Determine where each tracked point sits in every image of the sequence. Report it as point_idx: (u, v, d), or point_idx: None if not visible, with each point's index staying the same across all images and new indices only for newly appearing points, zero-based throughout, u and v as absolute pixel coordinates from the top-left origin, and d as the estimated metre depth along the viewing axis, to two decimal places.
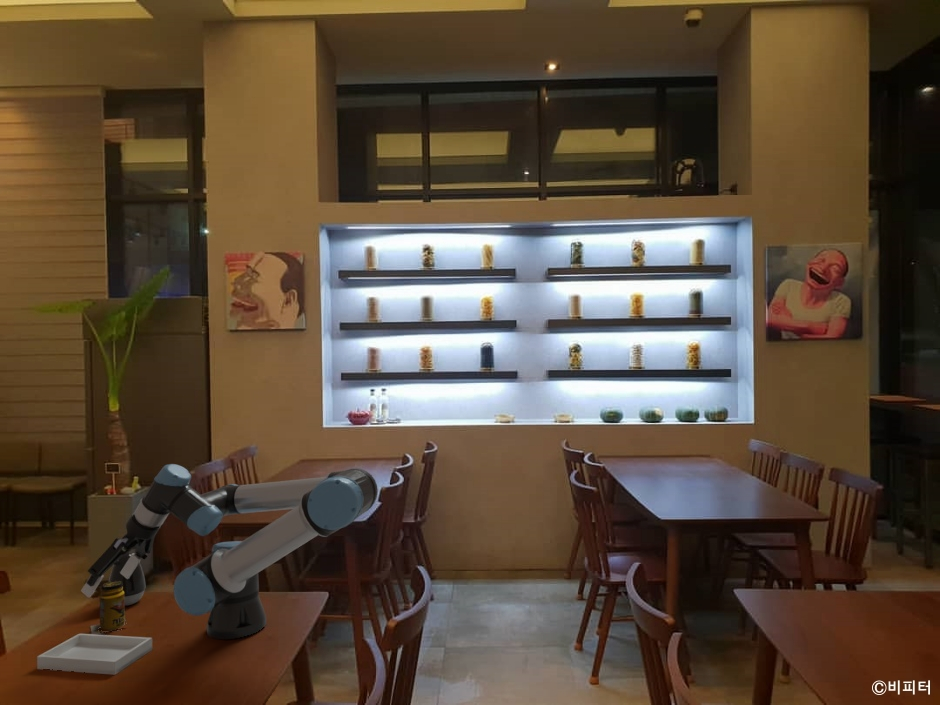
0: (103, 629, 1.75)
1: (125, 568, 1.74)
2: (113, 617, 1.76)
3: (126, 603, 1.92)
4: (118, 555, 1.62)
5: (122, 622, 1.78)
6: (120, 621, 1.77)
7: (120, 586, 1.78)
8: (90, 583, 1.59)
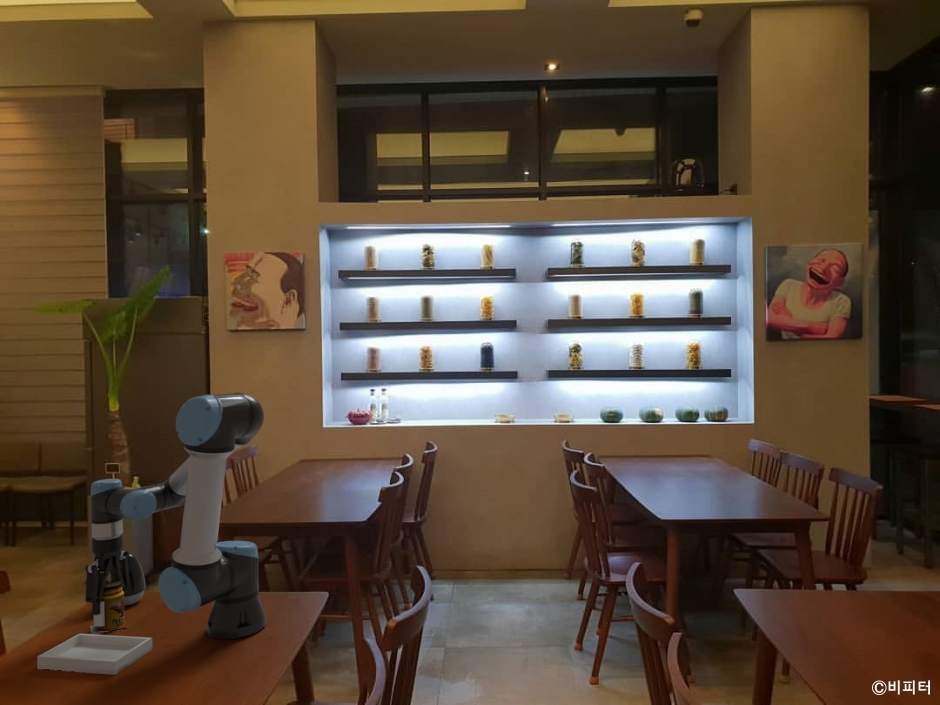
0: (102, 629, 1.75)
1: None
2: (112, 617, 1.75)
3: (126, 603, 1.92)
4: (101, 578, 1.75)
5: (121, 622, 1.78)
6: (119, 621, 1.77)
7: (119, 586, 1.78)
8: (95, 612, 1.73)
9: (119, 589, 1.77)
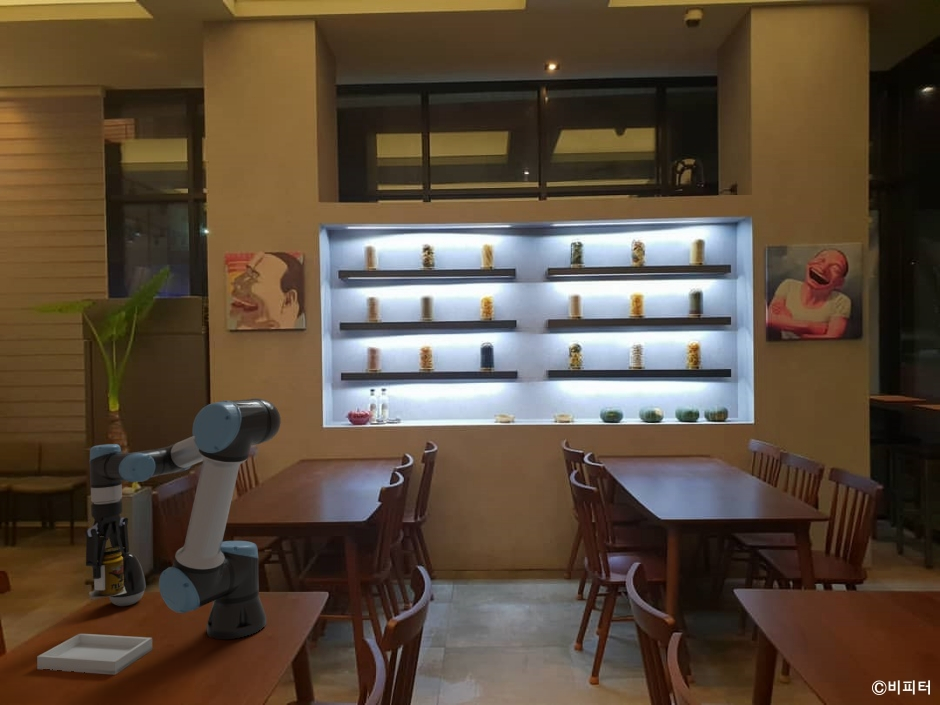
0: (102, 594, 1.75)
1: None
2: (112, 582, 1.75)
3: (126, 603, 1.92)
4: (101, 542, 1.75)
5: (121, 587, 1.77)
6: (119, 586, 1.76)
7: (118, 551, 1.77)
8: (96, 576, 1.73)
9: (118, 554, 1.77)
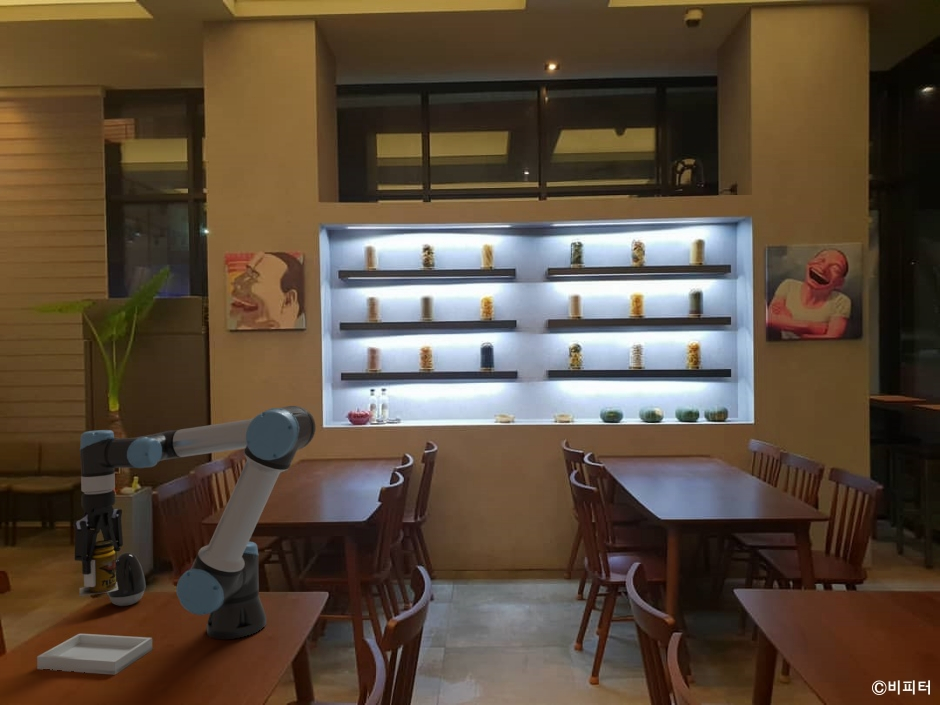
0: (92, 591, 1.63)
1: None
2: (102, 578, 1.63)
3: (126, 603, 1.92)
4: (92, 535, 1.62)
5: (113, 584, 1.65)
6: (110, 583, 1.64)
7: (110, 545, 1.65)
8: (85, 571, 1.61)
9: (110, 548, 1.65)
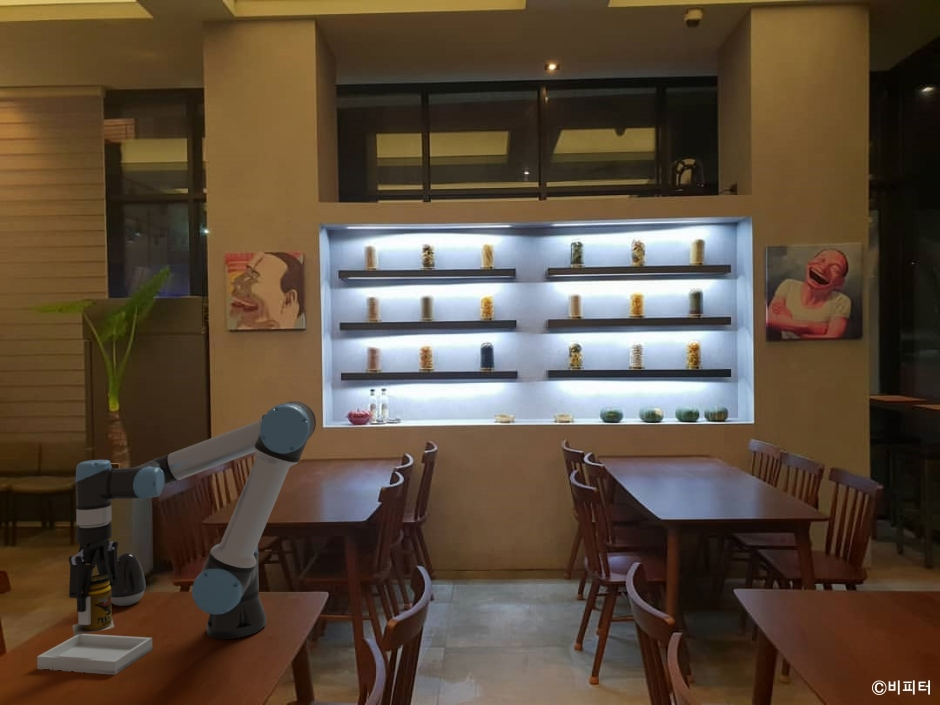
0: (87, 629, 1.56)
1: None
2: (98, 615, 1.56)
3: (126, 603, 1.92)
4: (87, 571, 1.55)
5: (108, 621, 1.58)
6: (106, 620, 1.57)
7: (106, 580, 1.58)
8: (80, 609, 1.54)
9: (106, 583, 1.58)
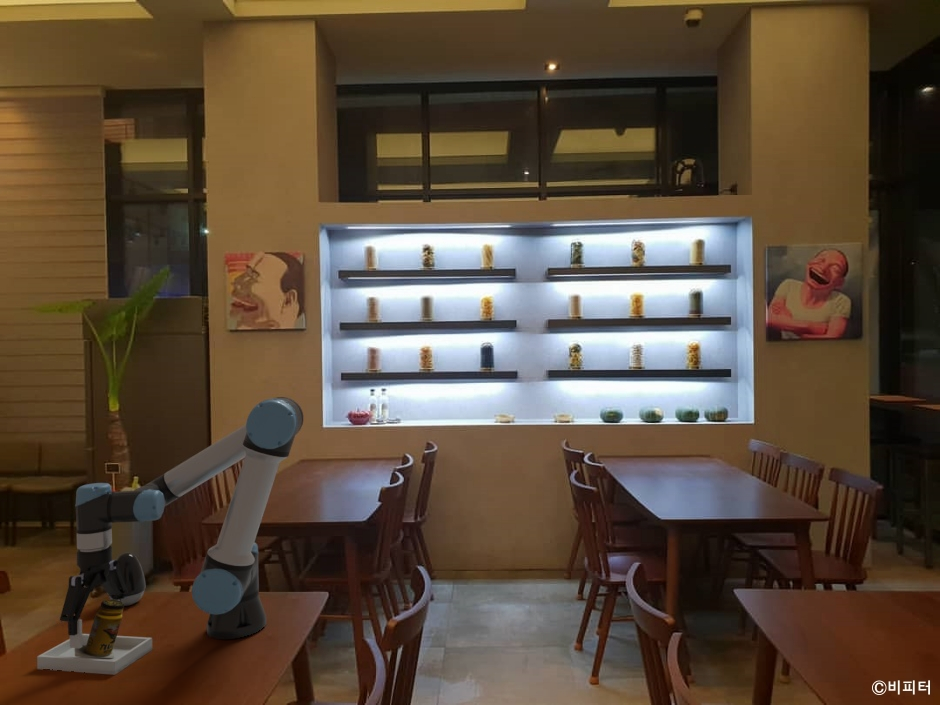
0: (88, 652, 1.56)
1: None
2: (103, 641, 1.56)
3: (126, 603, 1.92)
4: (84, 593, 1.54)
5: (110, 649, 1.58)
6: (108, 648, 1.57)
7: (121, 608, 1.60)
8: (71, 632, 1.51)
9: (119, 611, 1.59)
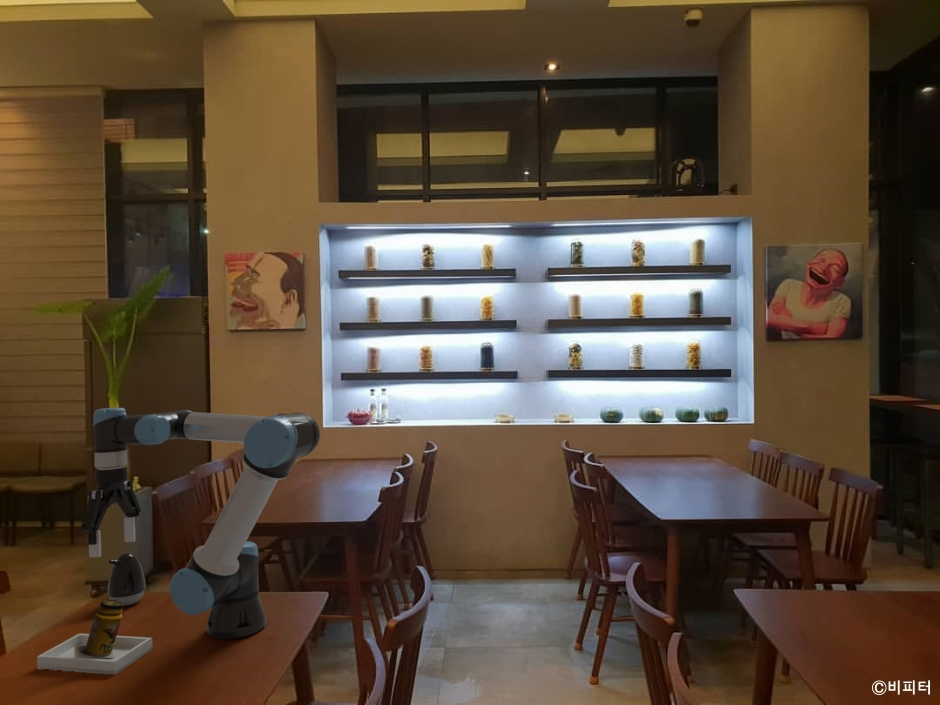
0: (88, 652, 1.56)
1: (126, 534, 1.75)
2: (102, 641, 1.56)
3: (126, 603, 1.92)
4: (102, 507, 1.64)
5: (110, 650, 1.58)
6: (108, 648, 1.57)
7: (120, 608, 1.60)
8: (91, 541, 1.60)
9: (119, 611, 1.59)
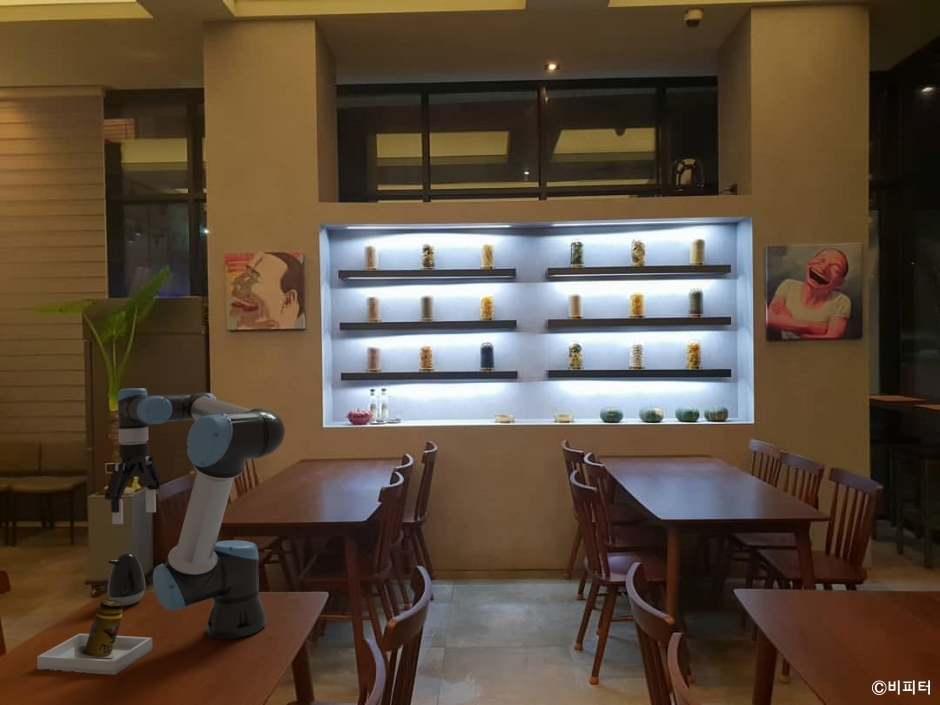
0: (88, 652, 1.56)
1: (147, 505, 1.90)
2: (102, 641, 1.56)
3: (126, 603, 1.92)
4: (125, 479, 1.79)
5: (110, 650, 1.58)
6: (108, 648, 1.57)
7: (120, 608, 1.60)
8: (114, 509, 1.75)
9: (119, 611, 1.59)
